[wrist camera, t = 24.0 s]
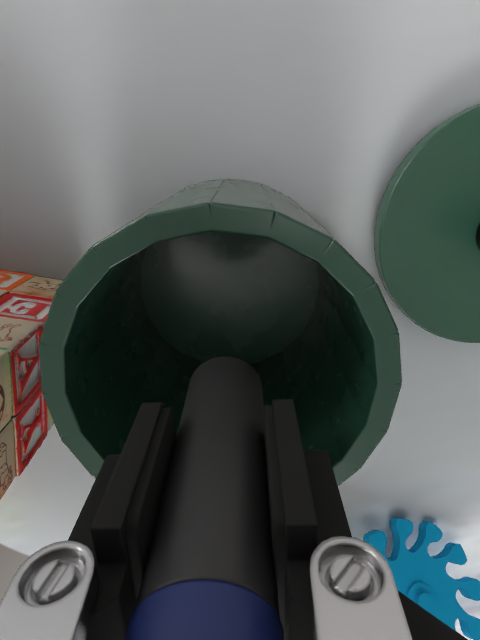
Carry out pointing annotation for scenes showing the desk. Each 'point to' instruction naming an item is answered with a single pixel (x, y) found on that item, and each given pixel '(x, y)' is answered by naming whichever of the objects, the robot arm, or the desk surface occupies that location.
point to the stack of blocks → (22, 370)
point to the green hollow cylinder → (221, 323)
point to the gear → (429, 573)
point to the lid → (435, 231)
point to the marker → (213, 520)
